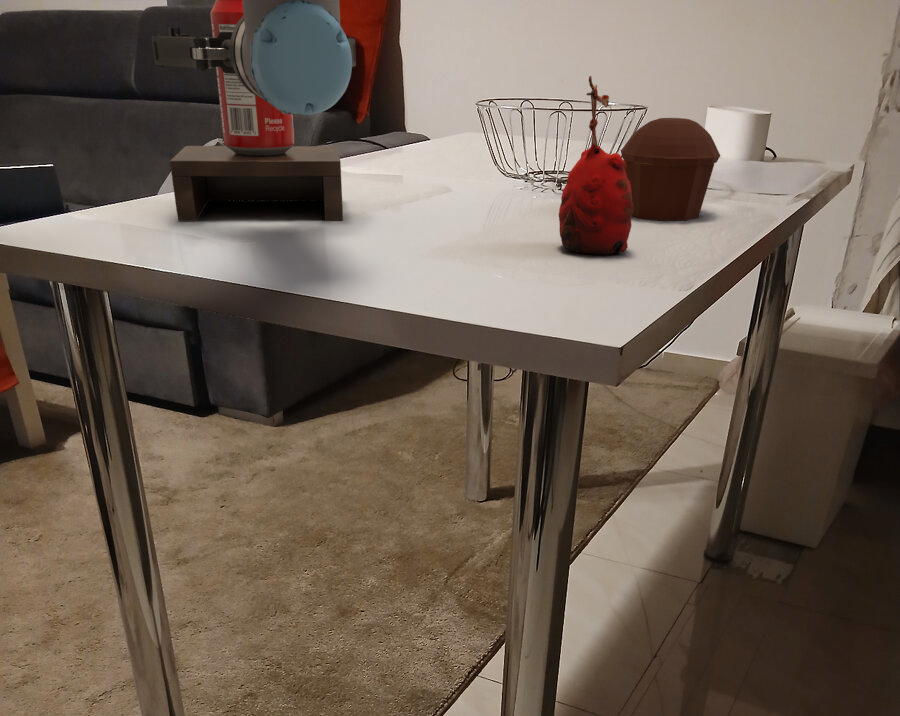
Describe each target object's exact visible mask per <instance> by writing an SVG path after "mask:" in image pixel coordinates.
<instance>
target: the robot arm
mask: <svg viewBox="0 0 900 716" xmlns="http://www.w3.org/2000/svg"><path fill="white" fill-rule="evenodd" d="M242 1H243V12H244V16H243V17H242V18H241V19H240V20H239V21H238V23H237V24H236V26H235V28H234V31H233V32H220V33H219V35H218V37H217V38H213V36H212V37H211V36H210V37H209V36H208V37H207V36H197V35H196V36H190V34H186V33H181V28H180V27H172V26H171V27H168V31H169V36H162V35H161V34H154V35H152V36H151V43H152V52H153V57H154V64H155V66H157V67H159V68H165V67H173V68H174V67H176V68H187V69H195V70H199V71H200V72H206V71H207V70H209V69H213V68H216V67H220V68H221V69H222V71H223V72H224V73H229V74H236V75H237V77H238V79H239V80H240V82H241V83H242V84H243V85H244V87H245V88H246V89H247V90H249V91H250V92H251V93H252V94H254V95H255V96H257V97H259V98H261V99H263V100H265V101H268V102H269V103H270V104H271V105H272V106H274V107H276V108H277V109H278V110H280V111H281V112H282V113H283V114H292V113H293V115H294V114H295V115H303V116H310V115H316V114H320V113H323V112H325V111H327V110H328V109H330V108H332V107H333V106H334V105H336V104H337V103H338V101H339V100H340V99H341V98H342V97H343V95H344V94H345V93H346V91H347V88H348V86H349V83H350V80H351V77H352V69H353V68H355V67H356V66H357V63H356V61H357V59H356V55H357V54H356V39H355V38H353V37H352V36H347V35H346V33H345V31H344V29H343V28H342V26H341V9H340V8H341V7H340V0H242Z"/></svg>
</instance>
